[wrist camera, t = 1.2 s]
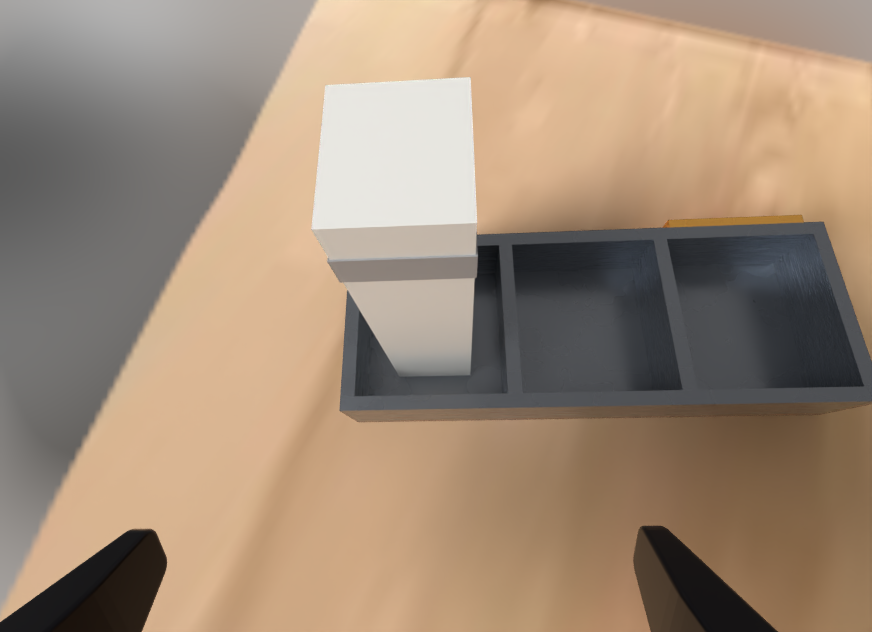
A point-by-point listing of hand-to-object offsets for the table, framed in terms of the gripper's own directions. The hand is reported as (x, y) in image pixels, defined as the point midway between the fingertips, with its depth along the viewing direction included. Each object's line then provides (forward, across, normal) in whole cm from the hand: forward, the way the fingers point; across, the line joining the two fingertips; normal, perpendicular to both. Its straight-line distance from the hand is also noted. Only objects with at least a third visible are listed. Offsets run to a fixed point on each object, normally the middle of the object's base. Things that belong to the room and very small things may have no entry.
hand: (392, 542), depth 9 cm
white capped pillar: (+15, 0, +3) cm, 15 cm away
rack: (+15, -7, +4) cm, 17 cm away
